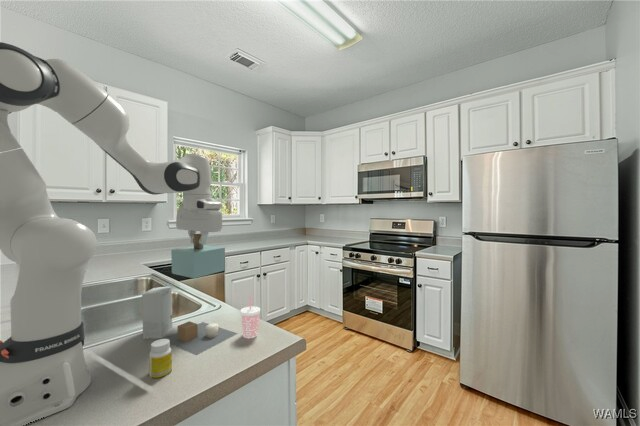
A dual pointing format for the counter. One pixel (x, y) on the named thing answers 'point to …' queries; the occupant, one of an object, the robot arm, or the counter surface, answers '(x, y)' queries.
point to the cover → (198, 260)
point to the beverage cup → (250, 321)
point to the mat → (199, 336)
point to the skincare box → (157, 312)
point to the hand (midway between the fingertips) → (198, 244)
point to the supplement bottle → (160, 359)
